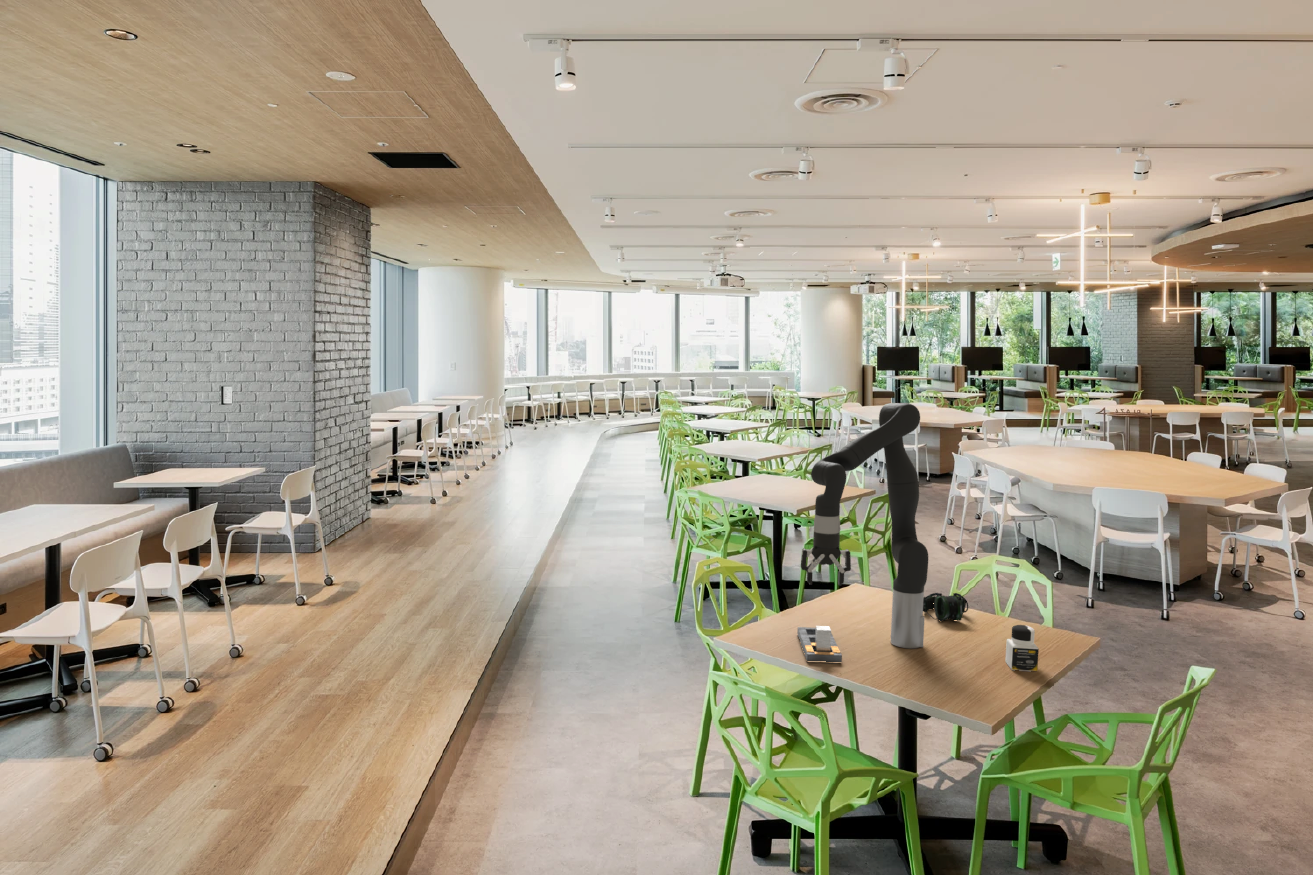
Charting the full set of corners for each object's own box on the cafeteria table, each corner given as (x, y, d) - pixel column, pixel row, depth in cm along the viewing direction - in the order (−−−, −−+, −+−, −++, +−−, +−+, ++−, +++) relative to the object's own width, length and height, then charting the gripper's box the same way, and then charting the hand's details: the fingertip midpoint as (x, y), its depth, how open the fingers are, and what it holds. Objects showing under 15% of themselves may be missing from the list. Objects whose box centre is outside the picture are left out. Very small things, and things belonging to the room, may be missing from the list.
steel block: (828, 655, 254) (829, 626, 253) (830, 660, 250) (831, 630, 249) (814, 655, 254) (815, 625, 254) (816, 659, 250) (817, 629, 250)
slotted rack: (828, 635, 272) (829, 627, 272) (841, 663, 247) (841, 654, 247) (797, 634, 273) (797, 626, 273) (806, 662, 248) (807, 653, 248)
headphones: (984, 608, 285) (959, 601, 305) (956, 580, 286) (933, 574, 305) (957, 637, 284) (934, 627, 304) (929, 609, 284) (908, 601, 304)
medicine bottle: (1011, 670, 244) (1013, 629, 243) (1004, 661, 251) (1007, 622, 250) (1037, 672, 243) (1040, 631, 242) (1030, 663, 250) (1032, 623, 249)
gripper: (849, 528, 252) (847, 581, 254) (800, 527, 253) (799, 580, 254) (853, 533, 245) (851, 588, 246) (803, 532, 245) (802, 587, 247)
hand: (825, 584), depth 250 cm, fingers open, 8 cm apart
